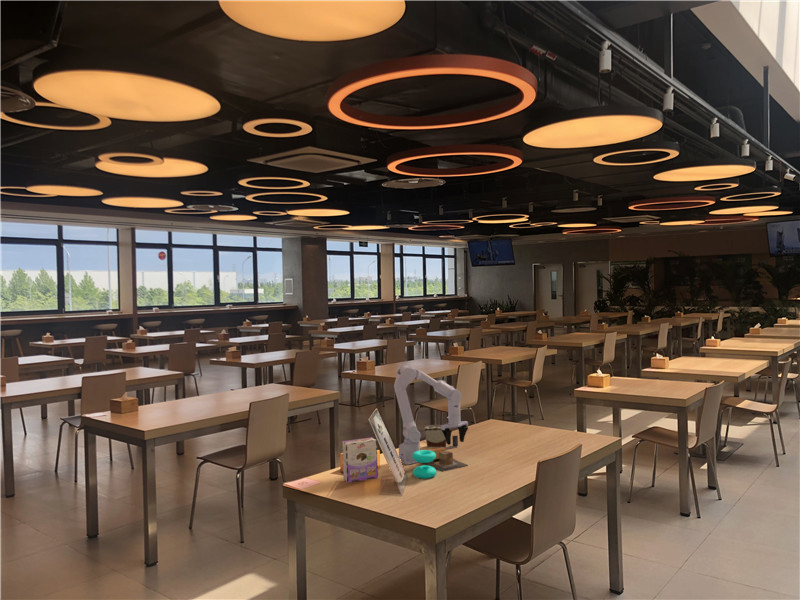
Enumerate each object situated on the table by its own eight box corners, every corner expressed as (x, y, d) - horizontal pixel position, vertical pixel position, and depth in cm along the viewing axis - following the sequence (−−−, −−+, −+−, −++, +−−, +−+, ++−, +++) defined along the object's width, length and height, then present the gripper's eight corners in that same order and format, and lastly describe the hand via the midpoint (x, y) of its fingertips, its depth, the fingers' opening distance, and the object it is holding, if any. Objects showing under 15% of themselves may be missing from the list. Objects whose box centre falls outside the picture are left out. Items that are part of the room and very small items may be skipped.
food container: (449, 443, 301) (448, 424, 300) (448, 447, 294) (448, 427, 294) (424, 444, 302) (424, 424, 302) (424, 447, 296) (423, 427, 296)
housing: (444, 465, 262) (444, 453, 262) (439, 463, 266) (439, 451, 266) (453, 463, 265) (452, 451, 265) (447, 461, 268) (447, 449, 268)
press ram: (428, 460, 269) (427, 442, 269) (425, 459, 271) (424, 441, 271) (459, 454, 278) (458, 436, 278) (456, 453, 280) (455, 435, 280)
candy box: (373, 474, 255) (372, 436, 255) (378, 478, 250) (377, 439, 250) (343, 479, 250) (341, 440, 250) (346, 483, 245) (345, 443, 245)
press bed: (442, 471, 256) (442, 465, 256) (419, 461, 271) (419, 455, 271) (467, 465, 263) (467, 459, 263) (444, 456, 279) (444, 450, 279)
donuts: (427, 447, 258) (440, 453, 249) (428, 470, 258) (441, 476, 250) (408, 451, 253) (420, 457, 244) (408, 474, 253) (421, 481, 245)
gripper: (446, 417, 271) (447, 447, 271) (471, 413, 278) (472, 442, 278) (437, 415, 277) (438, 444, 277) (462, 411, 284) (463, 439, 284)
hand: (455, 442), depth 278 cm, fingers open, 7 cm apart
